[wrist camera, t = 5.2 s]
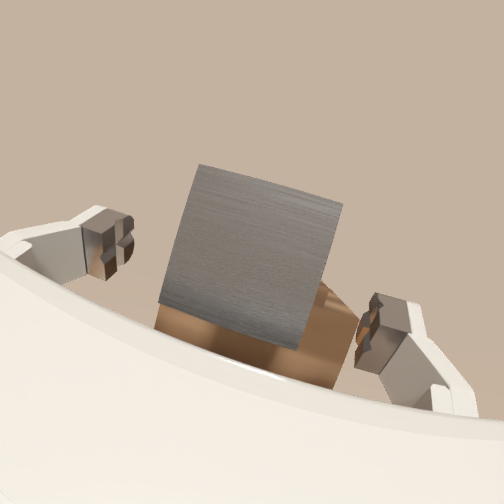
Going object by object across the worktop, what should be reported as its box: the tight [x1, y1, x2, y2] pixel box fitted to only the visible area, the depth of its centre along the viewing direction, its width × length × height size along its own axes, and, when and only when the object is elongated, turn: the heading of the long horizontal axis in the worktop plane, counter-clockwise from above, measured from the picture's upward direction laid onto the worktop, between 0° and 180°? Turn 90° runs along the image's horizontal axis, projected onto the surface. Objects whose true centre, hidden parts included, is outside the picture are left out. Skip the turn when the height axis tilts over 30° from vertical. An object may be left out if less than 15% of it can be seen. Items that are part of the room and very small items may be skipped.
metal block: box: [158, 164, 343, 351], centre depth 19 cm, size 23×4×5 cm, turn 171°
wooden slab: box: [154, 281, 359, 390], centre depth 24 cm, size 15×10×27 cm, turn 171°
